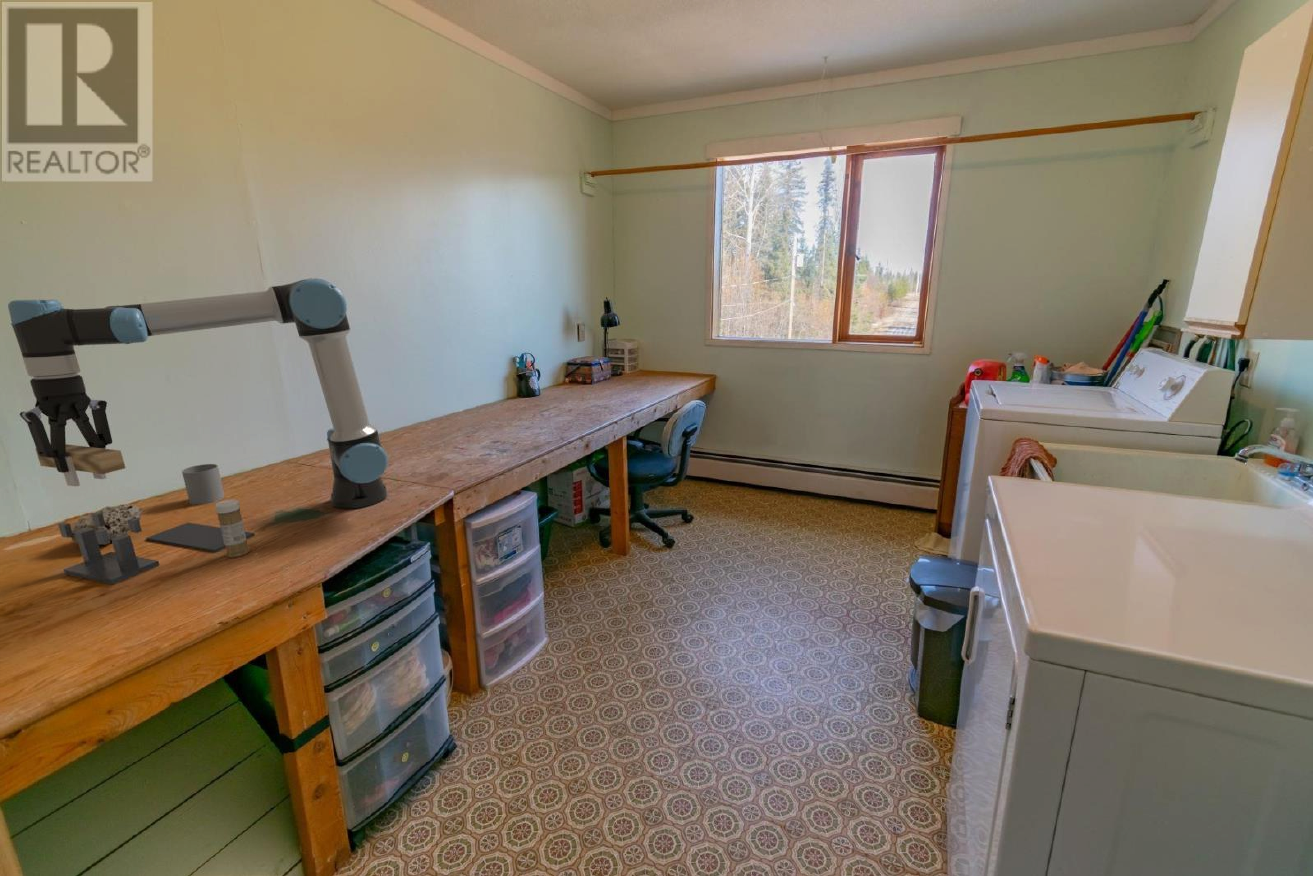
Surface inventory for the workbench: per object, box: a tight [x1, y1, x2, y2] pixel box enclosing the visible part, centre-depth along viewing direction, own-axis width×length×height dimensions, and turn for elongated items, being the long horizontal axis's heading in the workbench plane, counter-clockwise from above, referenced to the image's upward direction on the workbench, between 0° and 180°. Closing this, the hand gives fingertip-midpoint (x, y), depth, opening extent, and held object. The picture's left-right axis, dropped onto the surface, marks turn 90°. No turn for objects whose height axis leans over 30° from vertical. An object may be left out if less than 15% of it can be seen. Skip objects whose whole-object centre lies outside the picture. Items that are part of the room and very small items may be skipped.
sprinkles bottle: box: [214, 499, 250, 558], centre depth 132 cm, size 5×5×13 cm
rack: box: [57, 511, 160, 586], centre depth 125 cm, size 16×9×12 cm, turn 74°
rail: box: [35, 443, 126, 475], centre depth 120 cm, size 20×4×4 cm, turn 74°
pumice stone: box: [69, 504, 143, 545], centre depth 141 cm, size 14×12×8 cm
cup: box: [181, 463, 225, 506], centre depth 167 cm, size 8×8×10 cm
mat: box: [145, 522, 256, 553], centre depth 143 cm, size 24×10×1 cm, turn 74°
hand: (87, 481), depth 121 cm, fingers closed on rail, 4 cm apart
